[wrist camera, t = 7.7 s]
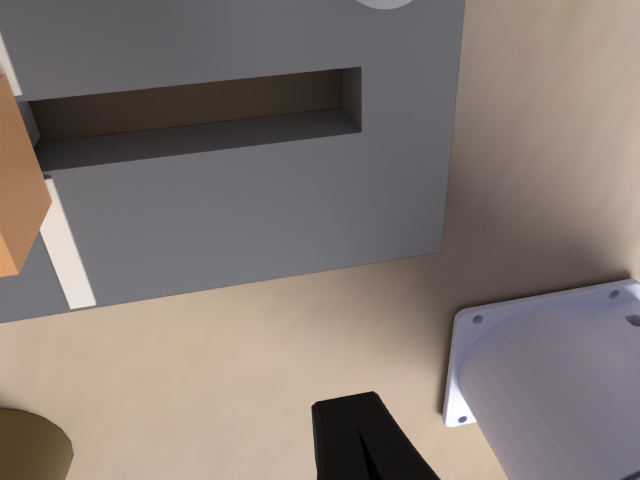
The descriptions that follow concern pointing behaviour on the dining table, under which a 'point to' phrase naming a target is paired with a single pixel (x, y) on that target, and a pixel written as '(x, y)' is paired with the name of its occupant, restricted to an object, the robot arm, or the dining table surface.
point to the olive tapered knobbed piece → (32, 448)
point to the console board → (232, 145)
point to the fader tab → (19, 182)
